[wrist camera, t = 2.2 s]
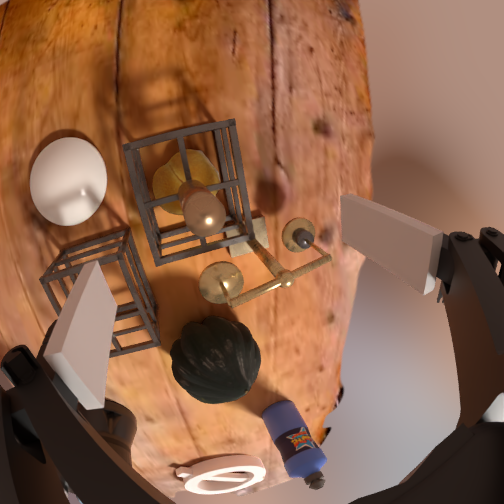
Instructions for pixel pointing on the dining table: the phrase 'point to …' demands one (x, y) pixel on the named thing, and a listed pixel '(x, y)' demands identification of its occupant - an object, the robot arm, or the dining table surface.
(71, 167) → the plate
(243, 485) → the ring with crossbar
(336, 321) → the dining table surface
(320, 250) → the balance
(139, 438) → the dining table surface
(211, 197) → the wire frame cage
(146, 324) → the metal bar cube frame
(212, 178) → the bread roll
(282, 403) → the water bottle
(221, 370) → the squash
